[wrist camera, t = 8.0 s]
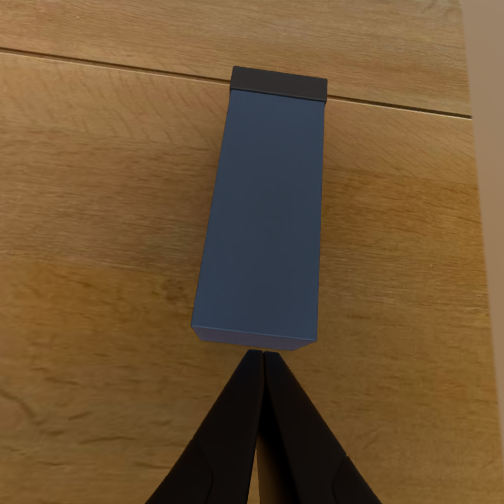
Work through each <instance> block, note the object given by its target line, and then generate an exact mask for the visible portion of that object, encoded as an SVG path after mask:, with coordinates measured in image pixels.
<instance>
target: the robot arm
mask: <svg viewBox="0 0 504 504" xmlns="http://www.w3.org/2000/svg"><path fill="white" fill-rule="evenodd" d="M255 449H257V465H258V480H259V496H260V504H382V503H381V502H380V500H379V499H378V498H377V496H376V495H375V494H374V493H373V491H372V490H371V488H370V487H369V485H368V484H367V483H366V481H365V480H364V478H363V477H362V476H361V474H360V473H359V471H358V470H357V468H356V467H355V465H354V464H353V462H352V461H351V459H350V458H349V457H348V456H346V452H345V451H344V449H343V448H342V446H341V445H340V443H339V442H338V440H337V439H336V437H335V436H334V434H333V433H332V431H331V430H330V428H329V427H328V425H327V424H326V422H325V421H324V420H323V418H322V417H321V415H320V414H319V412H318V411H317V409H316V408H315V406H314V405H313V403H312V402H311V400H310V399H309V397H308V396H307V394H306V393H305V391H304V390H303V388H302V387H301V385H300V384H299V382H298V381H297V379H296V378H295V376H294V375H293V373H292V372H291V370H290V369H289V367H288V366H287V364H286V363H285V362H284V360H283V359H282V357H281V356H280V354H279V353H277V352H269V351H265V352H264V353H263V352H262V351H261V350H252V349H249V350H248V351H247V352H246V354H245V355H244V357H243V359H242V360H241V362H240V363H239V365H238V366H237V368H236V370H235V371H234V373H233V374H232V376H231V378H230V379H229V381H228V382H227V384H226V385H225V387H224V389H223V390H222V392H221V393H220V395H219V396H218V398H217V400H216V401H215V403H214V404H213V406H212V408H211V409H210V411H209V412H208V414H207V415H206V417H205V419H204V420H203V422H202V423H201V425H200V426H199V428H198V430H197V431H196V433H195V434H194V436H193V439H192V440H190V442H189V443H188V445H187V447H186V448H185V450H184V451H183V453H182V454H181V456H180V457H179V459H178V460H177V462H176V463H175V465H174V466H173V468H172V469H171V471H170V472H169V473H168V475H167V476H166V477H165V479H164V480H163V481H162V482H161V484H160V485H159V486H158V488H157V489H156V490H155V491H154V493H153V494H152V495H151V496H150V498H149V499H148V500H147V501H146V503H145V504H247V500H248V494H249V487H250V481H251V474H252V468H253V461H254V455H255Z"/></svg>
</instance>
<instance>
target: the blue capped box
mask: <svg viewBox="0 0 504 504" xmlns="http://www.w3.org/2000/svg"><path fill="white" fill-rule="evenodd" d="M326 102H327V79H324V78H317V77H310V76H303V75H296V74H288V73H281V72H274V71H267V70H260V69H253V68H246V67H239V66H234V67H233V70H232V76H231V82H230V98H229V106H228V112H227V117H226V123H225V129H224V135H223V141H222V146H221V152H220V158H219V164H218V170H217V175H216V181H215V187H214V193H213V198H212V204H211V210H210V216H209V222H208V227H207V233H206V239H205V245H204V251H203V256H202V262H201V268H200V274H199V280H198V285H197V291H196V297H195V303H194V309H193V314H192V320H191V327H192V328H193V330H194V331H195V333H196V334H197V335H198V337H199V338H200V340H204V341H212V342H221V343H229V344H238V345H247V346H255V347H264V348H272V349H281V350H289V351H293V350H296V349H298V348H300V347H303V346H305V345H308V344H310V343H313V342H315V341H317V322H318V291H319V260H320V229H321V198H322V167H323V136H324V107H325V104H326Z"/></svg>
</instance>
